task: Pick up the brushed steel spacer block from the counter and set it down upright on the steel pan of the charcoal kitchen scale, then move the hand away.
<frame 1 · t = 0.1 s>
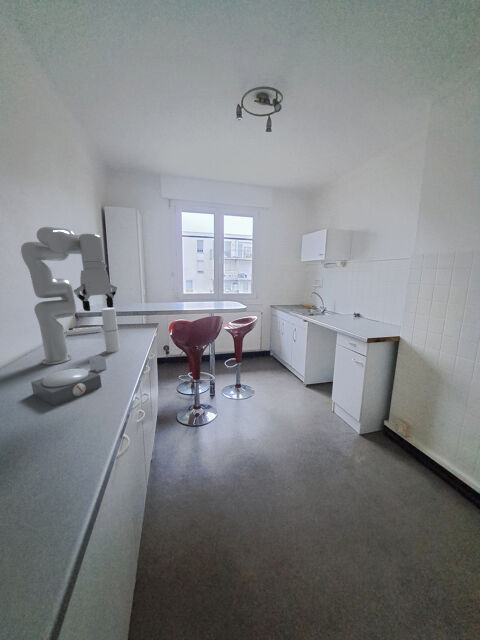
hand: (99, 309, 103), 31 cm above the kitchen counter, tool pointing down, fingers open, 9 cm apart
cylindrical container: (113, 350, 148), on the kitchen counter
kitchen scale: (68, 390, 100), on the kitchen counter
steel spacer: (98, 369, 120), on the kitchen counter
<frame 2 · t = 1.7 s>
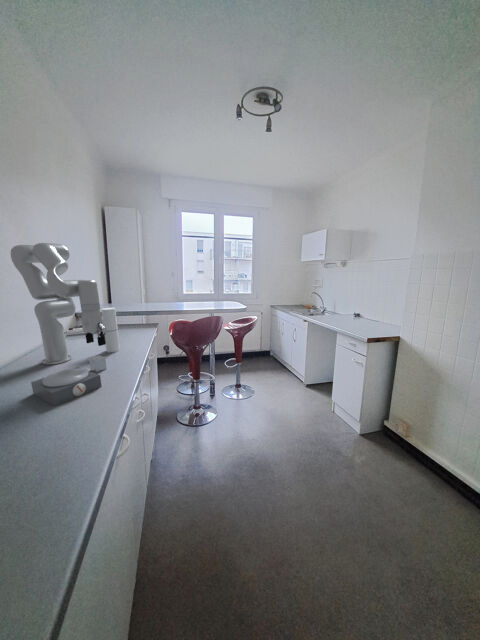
hand: (96, 343, 117), 13 cm above the kitchen counter, tool pointing down, fingers open, 9 cm apart
nothing on the kitchen counter moved.
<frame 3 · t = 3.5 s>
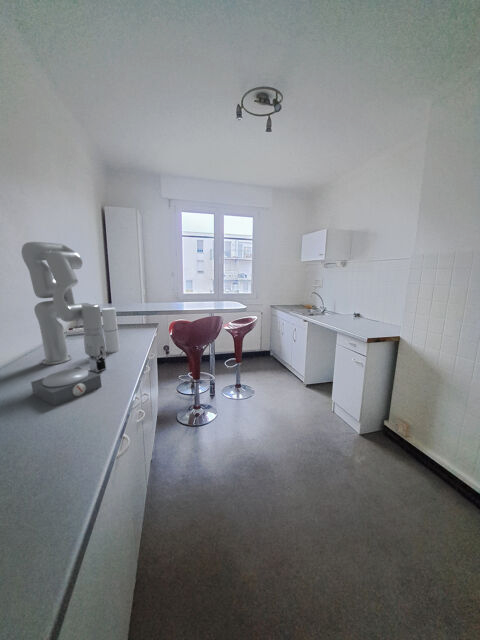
hand: (98, 367, 120), 1 cm above the kitchen counter, tool pointing down, fingers closed on steel spacer, 5 cm apart
steel spacer: (98, 369, 120), on the kitchen counter, touching gripper
everything else where it was.
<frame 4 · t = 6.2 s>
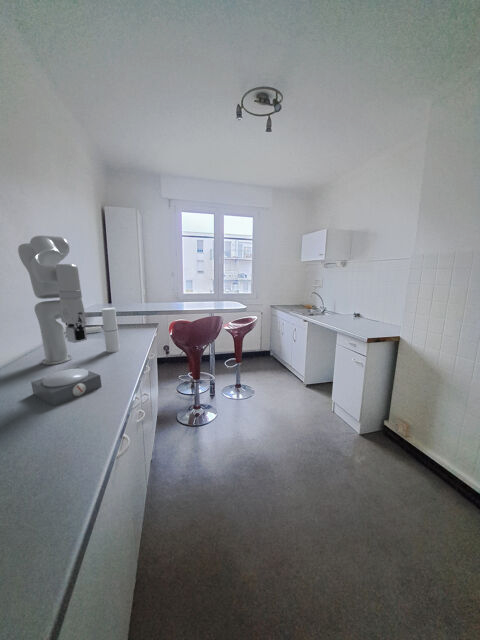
hand: (77, 338, 105), 19 cm above the kitchen counter, tool pointing down, fingers closed on steel spacer, 5 cm apart
steel spacer: (77, 340, 105), point 18 cm above the kitchen counter, touching gripper
everything else where it was.
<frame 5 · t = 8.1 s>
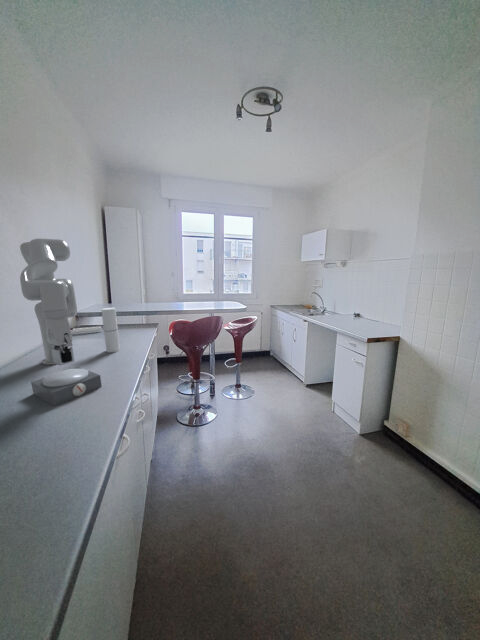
hand: (63, 360, 97), 13 cm above the kitchen counter, tool pointing down, fingers closed on steel spacer, 5 cm apart
steel spacer: (64, 362, 97), point 12 cm above the kitchen counter, touching gripper
everything else where it was.
when the fingers open (8 cm above the kitchen counter, at t = 9.4 s): steel spacer stays where it is, resting on kitchen scale.
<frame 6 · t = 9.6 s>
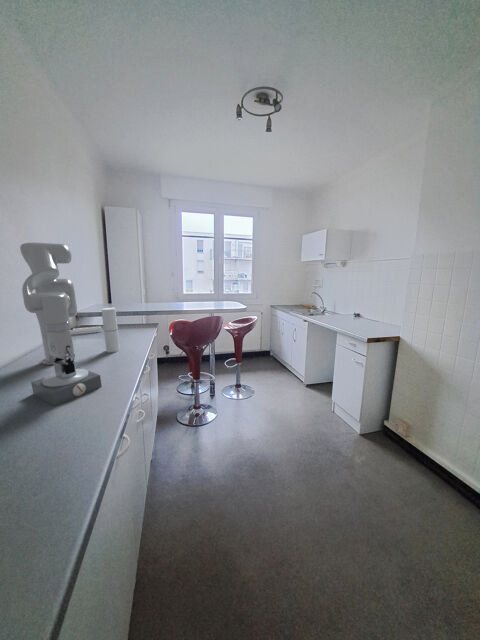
hand: (65, 370, 98), 8 cm above the kitchen counter, tool pointing down, fingers open, 7 cm apart
steel spacer: (66, 376, 99), point 6 cm above the kitchen counter, touching kitchen scale
everything else where it was.
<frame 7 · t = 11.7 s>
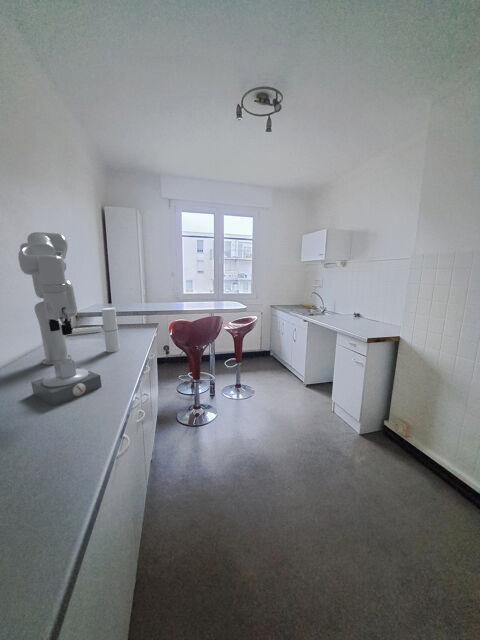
hand: (61, 332, 99), 23 cm above the kitchen counter, tool pointing down, fingers open, 9 cm apart
nothing on the kitchen counter moved.
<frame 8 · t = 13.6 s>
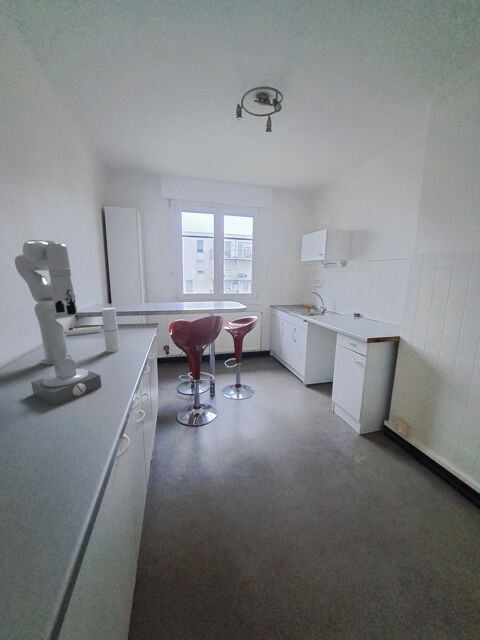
hand: (66, 313, 110), 28 cm above the kitchen counter, tool pointing down, fingers open, 9 cm apart
nothing on the kitchen counter moved.
at the end: steel spacer inside the target area on the kitchen scale (0.1 cm from its centre), point 6.0 cm above the kitchen scale's base; steel spacer tilted 0°; the gripper is holding nothing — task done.
